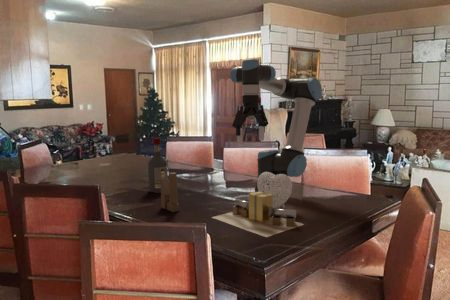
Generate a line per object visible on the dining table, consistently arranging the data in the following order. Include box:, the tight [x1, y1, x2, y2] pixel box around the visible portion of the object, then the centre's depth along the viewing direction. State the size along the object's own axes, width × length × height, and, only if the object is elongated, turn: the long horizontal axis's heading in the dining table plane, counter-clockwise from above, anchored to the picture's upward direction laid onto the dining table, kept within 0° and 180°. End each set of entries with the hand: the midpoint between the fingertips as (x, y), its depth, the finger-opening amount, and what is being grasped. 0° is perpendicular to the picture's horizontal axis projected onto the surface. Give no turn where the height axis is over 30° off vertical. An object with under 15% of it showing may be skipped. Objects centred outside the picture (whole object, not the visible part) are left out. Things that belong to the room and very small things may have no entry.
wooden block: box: [160, 172, 180, 213], centre depth 186 cm, size 4×11×18 cm, turn 39°
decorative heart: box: [256, 172, 293, 209], centre depth 184 cm, size 18×11×17 cm, turn 48°
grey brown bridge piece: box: [269, 207, 297, 227], centre depth 160 cm, size 10×5×7 cm, turn 75°
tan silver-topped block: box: [232, 198, 249, 218], centre depth 174 cm, size 9×5×7 cm, turn 40°
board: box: [210, 211, 305, 238], centre depth 166 cm, size 22×33×1 cm, turn 40°
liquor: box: [147, 137, 169, 194], centre depth 222 cm, size 9×9×30 cm
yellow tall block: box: [248, 191, 273, 224], centre depth 166 cm, size 8×6×11 cm
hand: (251, 141), depth 181 cm, fingers open, 13 cm apart
